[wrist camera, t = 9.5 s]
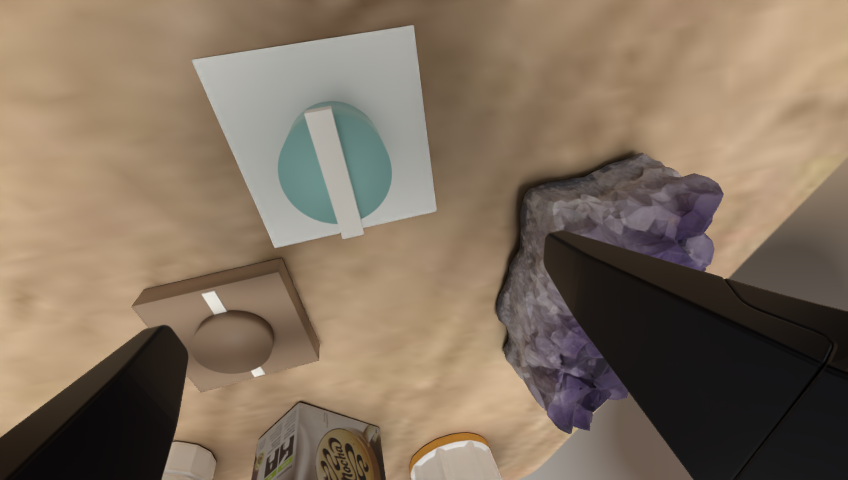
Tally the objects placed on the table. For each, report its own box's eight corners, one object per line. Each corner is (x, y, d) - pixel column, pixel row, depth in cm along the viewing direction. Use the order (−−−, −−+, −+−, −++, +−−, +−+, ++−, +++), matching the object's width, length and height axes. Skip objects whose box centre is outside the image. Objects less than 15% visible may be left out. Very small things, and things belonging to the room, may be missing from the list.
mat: (194, 59, 15) (191, 59, 15) (411, 25, 16) (413, 25, 16) (275, 244, 21) (274, 248, 20) (435, 208, 22) (436, 211, 21)
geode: (590, 347, 34) (656, 454, 26) (476, 351, 33) (507, 465, 24) (686, 145, 23) (857, 217, 15) (521, 139, 22) (605, 214, 13)
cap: (271, 102, 16) (251, 123, 12) (369, 85, 17) (380, 99, 13) (307, 205, 19) (301, 249, 15) (390, 187, 20) (404, 225, 16)
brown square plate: (143, 289, 20) (122, 319, 18) (281, 258, 21) (276, 282, 19) (207, 374, 24) (195, 405, 22) (319, 344, 25) (318, 372, 23)
